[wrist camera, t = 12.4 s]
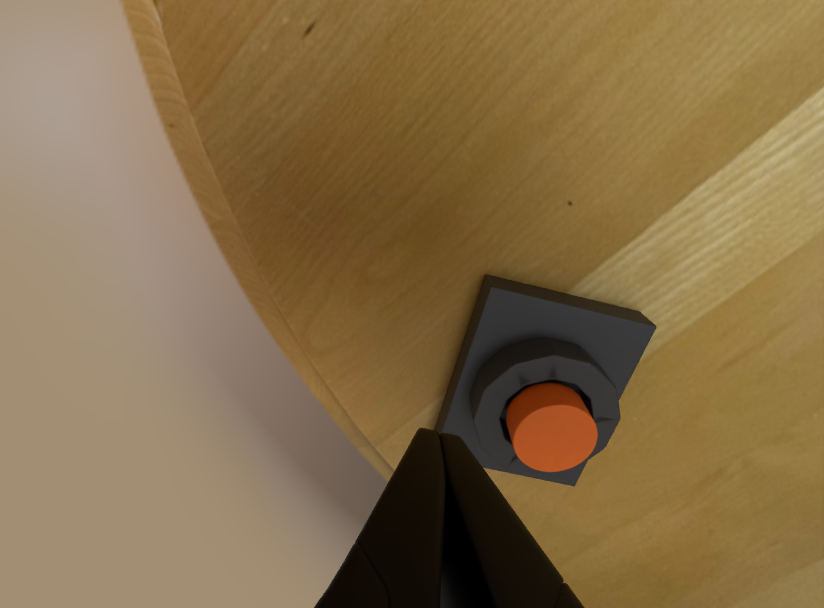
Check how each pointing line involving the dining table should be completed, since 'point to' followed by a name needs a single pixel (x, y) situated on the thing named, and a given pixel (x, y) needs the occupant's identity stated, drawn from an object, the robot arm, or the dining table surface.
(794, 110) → the dining table surface
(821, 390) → the dining table surface
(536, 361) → the button box
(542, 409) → the button
